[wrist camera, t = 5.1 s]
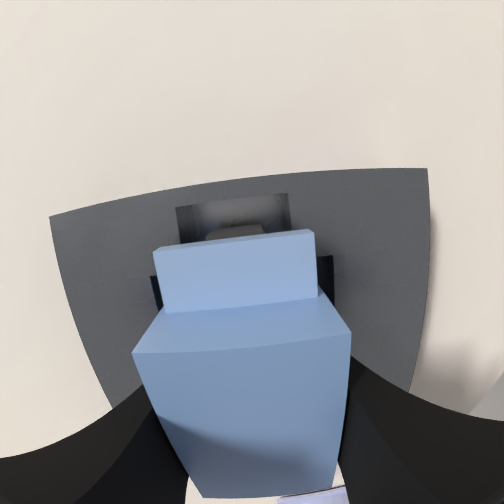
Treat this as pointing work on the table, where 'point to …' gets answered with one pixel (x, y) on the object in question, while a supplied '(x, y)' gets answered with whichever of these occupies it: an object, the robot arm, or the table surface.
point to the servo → (247, 363)
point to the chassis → (272, 220)
